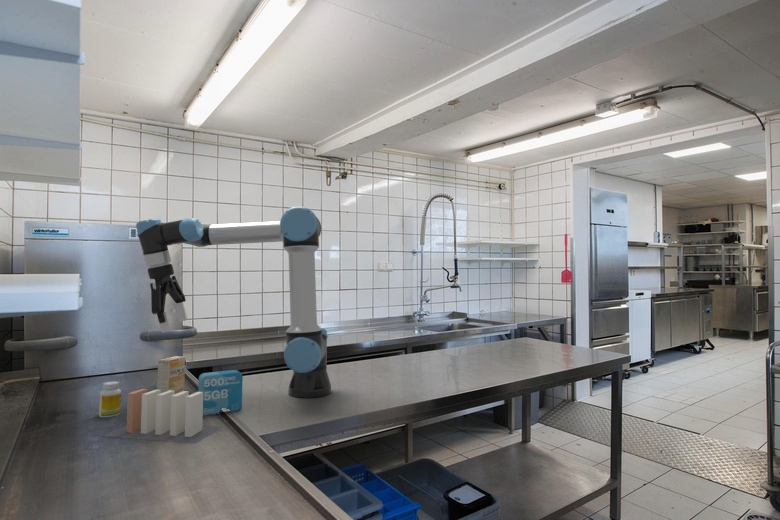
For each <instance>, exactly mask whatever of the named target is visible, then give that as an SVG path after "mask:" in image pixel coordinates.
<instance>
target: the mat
mask: <svg viewBox="0 0 780 520" xmlns="http://www.w3.org/2000/svg"><path fill="white" fill-rule="evenodd" d="M126 428H127V425H124V426H123V427H120V428H119V429H118V428H117V429H116V430H113V431H112V432H109V433H106V434H105V435H103V436H102V437H105V438H118V439H133V440H135V439H136V440H147V441H148V440H149V441H161V442H173V443H174V442H175V443H189V444H197V443H199V442H200V441H202V440H204V439H205V438H207V437H208V436H210V435H211V434H213V433H215V432H217V431H218V430H220V429H222V428H223V426H221V425H220V426H219V425H203V424H202V431H200V432H198V433H196V434H195V435H193V436H191V437H185V431H184V432H182V433H180V434H178V435H176V436H170V430H169V431H167V432H165V433H163V434H161V435H156V434H155V430H153V431H151V432H149V433H147V434H142V433H141V429H139V430H137V431H135V432H132V433H128V432H126Z"/></svg>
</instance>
